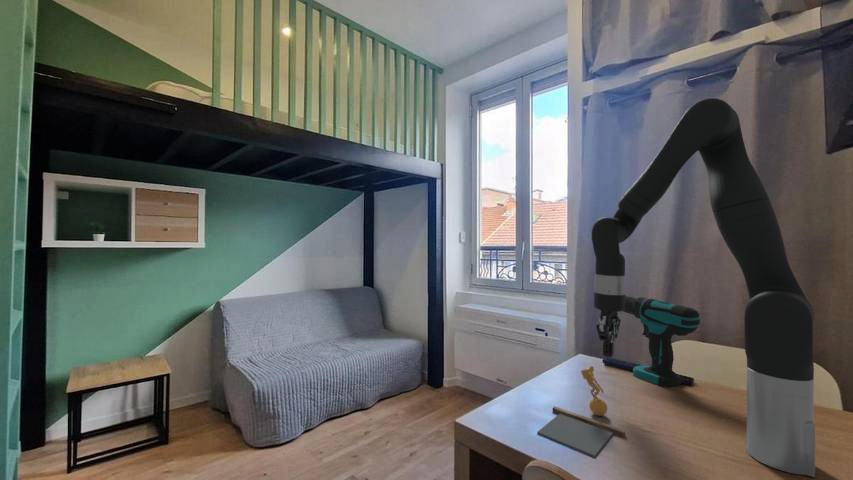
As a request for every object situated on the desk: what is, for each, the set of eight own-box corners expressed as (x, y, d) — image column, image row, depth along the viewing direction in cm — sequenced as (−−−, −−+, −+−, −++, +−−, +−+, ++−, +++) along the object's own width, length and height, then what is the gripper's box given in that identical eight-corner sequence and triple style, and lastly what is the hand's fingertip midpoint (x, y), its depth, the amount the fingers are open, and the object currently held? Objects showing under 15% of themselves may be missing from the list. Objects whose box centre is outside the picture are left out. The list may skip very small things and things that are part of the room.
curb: (625, 435, 76) (625, 430, 76) (623, 437, 76) (623, 432, 76) (554, 410, 88) (554, 406, 88) (552, 411, 87) (552, 407, 87)
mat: (613, 434, 77) (613, 432, 77) (594, 457, 68) (594, 455, 68) (559, 415, 85) (559, 413, 85) (537, 433, 77) (537, 431, 77)
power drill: (604, 365, 121) (604, 293, 121) (621, 362, 124) (621, 292, 125) (686, 396, 97) (687, 306, 97) (705, 390, 101) (705, 304, 101)
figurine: (616, 423, 81) (616, 372, 82) (591, 424, 81) (592, 372, 81) (596, 406, 90) (596, 360, 90) (574, 407, 89) (574, 360, 89)
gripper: (617, 295, 86) (615, 365, 86) (631, 291, 96) (630, 353, 96) (586, 292, 91) (584, 358, 91) (602, 288, 101) (601, 347, 101)
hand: (608, 355), depth 94 cm, fingers closed
